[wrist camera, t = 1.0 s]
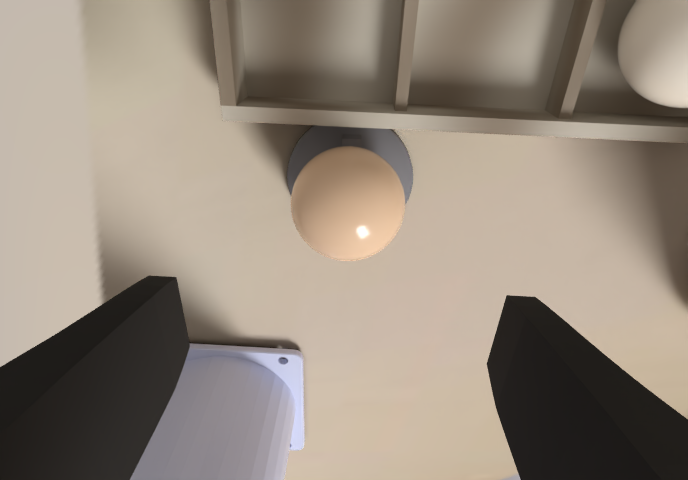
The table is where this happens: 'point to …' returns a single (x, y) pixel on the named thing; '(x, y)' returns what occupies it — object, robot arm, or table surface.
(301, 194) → the brown egg
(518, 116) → the carton
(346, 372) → the table surface
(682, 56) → the cream egg
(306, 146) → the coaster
